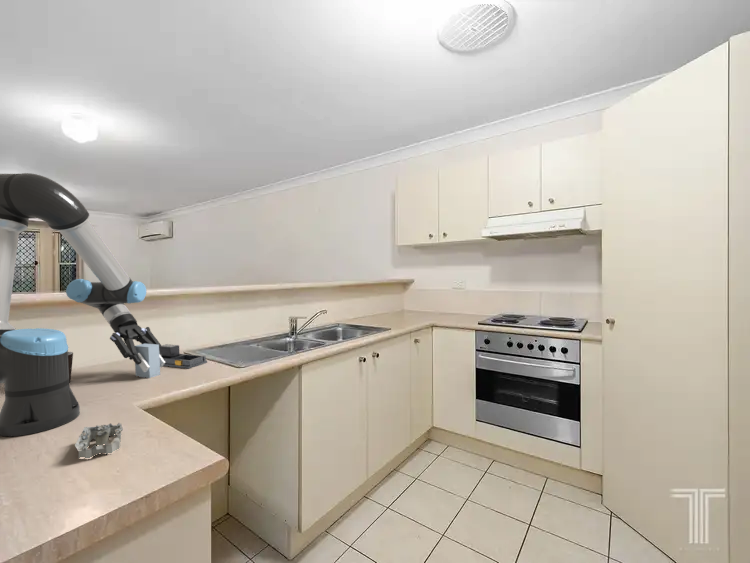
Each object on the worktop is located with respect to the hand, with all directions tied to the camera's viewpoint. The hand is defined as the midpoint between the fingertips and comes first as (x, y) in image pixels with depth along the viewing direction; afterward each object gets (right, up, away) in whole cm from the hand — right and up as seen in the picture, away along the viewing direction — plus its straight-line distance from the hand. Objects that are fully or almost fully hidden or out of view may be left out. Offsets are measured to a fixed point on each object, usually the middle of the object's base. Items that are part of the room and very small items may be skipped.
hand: (155, 367), depth 124 cm
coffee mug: (-30, -4, -6) cm, 30 cm away
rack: (-1, -3, +16) cm, 17 cm away
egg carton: (+19, -6, -48) cm, 52 cm away
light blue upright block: (-3, -3, +1) cm, 5 cm away
